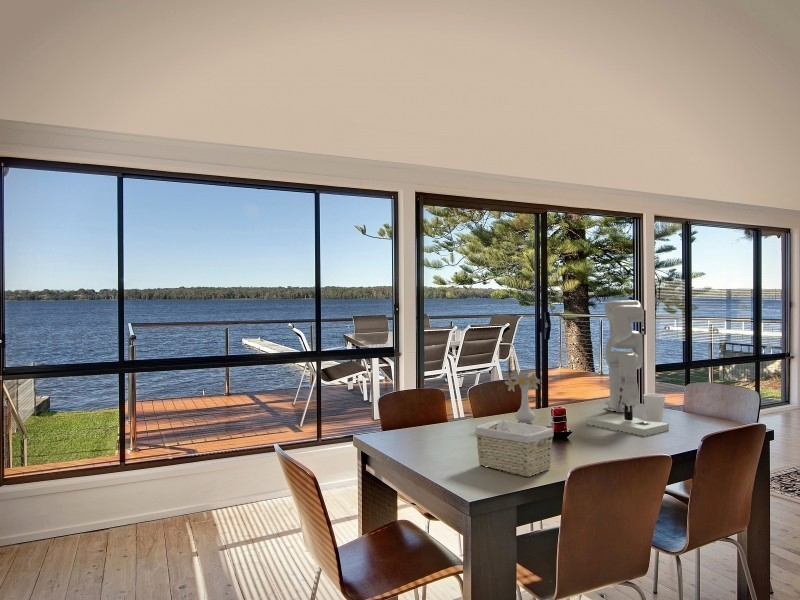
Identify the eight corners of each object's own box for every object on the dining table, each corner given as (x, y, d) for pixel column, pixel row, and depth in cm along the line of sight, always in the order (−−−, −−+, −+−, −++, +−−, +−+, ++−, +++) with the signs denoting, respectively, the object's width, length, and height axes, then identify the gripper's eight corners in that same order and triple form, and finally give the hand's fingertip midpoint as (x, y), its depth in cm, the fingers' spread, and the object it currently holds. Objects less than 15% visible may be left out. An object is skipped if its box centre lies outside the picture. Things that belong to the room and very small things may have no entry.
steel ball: (638, 426, 250) (638, 419, 253) (640, 432, 252) (641, 425, 255) (647, 426, 248) (648, 419, 251) (649, 432, 250) (650, 425, 253)
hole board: (587, 424, 266) (587, 418, 266) (611, 419, 276) (611, 413, 276) (644, 436, 241) (644, 429, 241) (668, 430, 251) (668, 423, 251)
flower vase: (502, 423, 271) (500, 372, 272) (527, 418, 282) (526, 369, 283) (522, 428, 261) (521, 374, 261) (548, 422, 272) (546, 371, 272)
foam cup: (668, 424, 264) (668, 396, 264) (649, 424, 264) (648, 396, 264) (660, 419, 273) (659, 393, 273) (640, 420, 273) (640, 393, 273)
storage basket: (473, 466, 203) (472, 425, 203) (501, 457, 214) (500, 418, 214) (529, 480, 185) (528, 435, 185) (556, 469, 196) (555, 427, 196)
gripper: (624, 382, 251) (625, 423, 250) (644, 379, 259) (645, 419, 258) (610, 380, 257) (611, 420, 257) (630, 377, 265) (631, 416, 265)
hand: (628, 419), depth 258 cm, fingers closed
